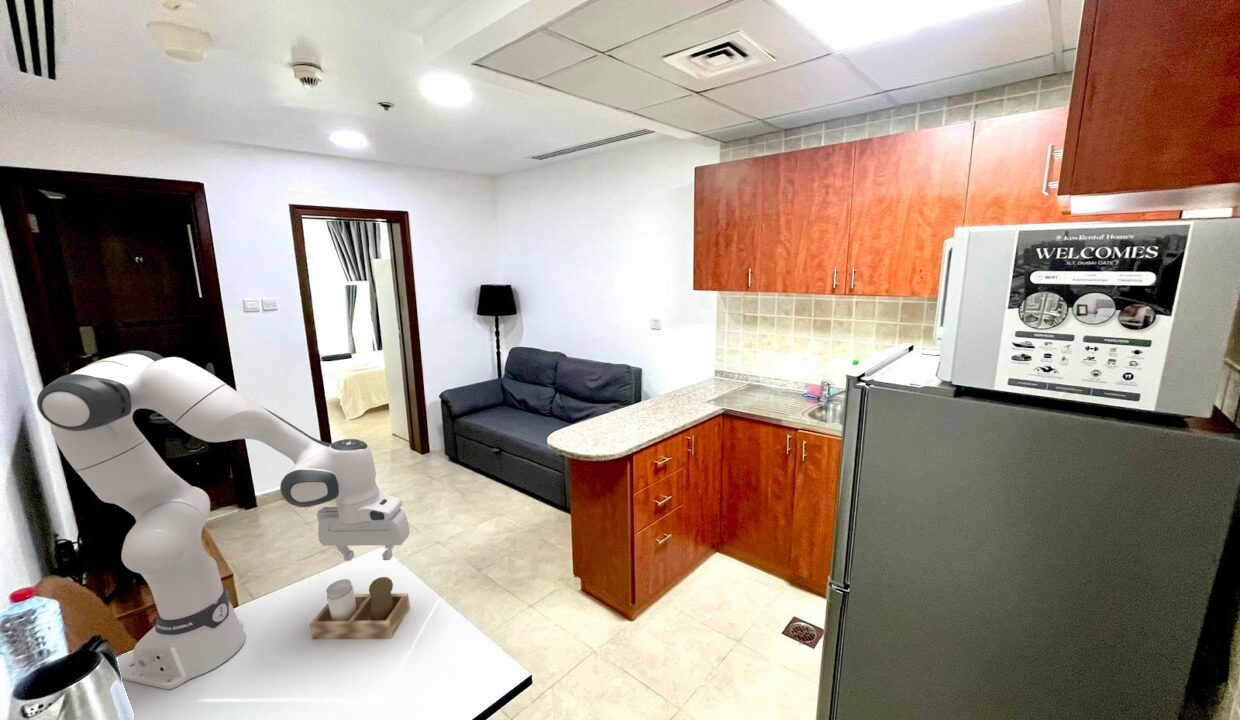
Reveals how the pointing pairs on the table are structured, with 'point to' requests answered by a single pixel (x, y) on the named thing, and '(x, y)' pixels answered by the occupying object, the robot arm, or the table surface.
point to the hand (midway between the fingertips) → (368, 558)
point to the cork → (381, 599)
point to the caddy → (360, 621)
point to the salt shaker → (341, 600)
